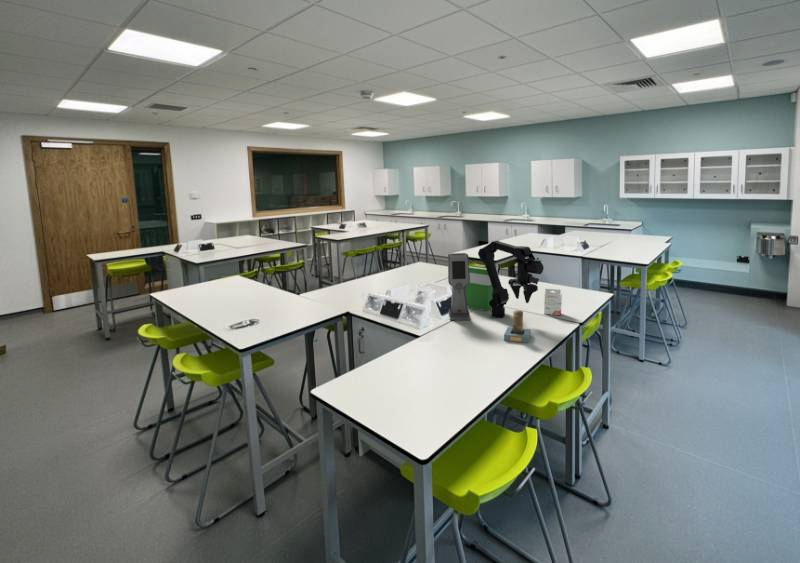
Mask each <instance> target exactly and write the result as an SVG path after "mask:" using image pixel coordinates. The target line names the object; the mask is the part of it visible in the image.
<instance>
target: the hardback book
mask: <svg viewBox="0 0 800 563" xmlns="http://www.w3.org/2000/svg"><path fill="white" fill-rule="evenodd" d="M469 273H470V283H469V284H468V285H467V286H466V299H467V306H468V308H471V307H472V308H471V309H476V310H482V311H485V310H486V311H487V312H489V311H492V310H491V309H492V306H490V305H489V302H490V301H491V300H492V299H493V297H492V292H493V287H492V284H491V281H490V278H489V275H488V272H487V269H486V266H481V265H475V264H474V265H472V264H469Z"/></svg>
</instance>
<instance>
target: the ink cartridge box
mask: <svg viewBox="0 0 800 563" xmlns="http://www.w3.org/2000/svg"><path fill="white" fill-rule="evenodd" d="M561 292H562V291H561V289H556V288H545V292H544V308H543V311H544V313H543V315H547V314H551V315H550V316H557V315H560V314H562V303H563V302H562V300H563V298H562V297H563V296H562V295H563V293H561ZM560 316H561V315H560Z"/></svg>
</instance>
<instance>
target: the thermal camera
mask: <svg viewBox="0 0 800 563" xmlns="http://www.w3.org/2000/svg"><path fill="white" fill-rule="evenodd" d="M469 265H470V261H469V254H468V253H467V252H463V253H462V252H460V253H449V254H447V271H448V272H447V273H448V274H447V278H448V282H447V283H448V284H449V285H450V286H451V306H450V307H449V309H448V318H449V317H450V319H451V320H450V319H449V320H450V321H469V320H471V314H470V310H469V307H467V299H466V286H467V285H468V284H469V283H470V273H469Z"/></svg>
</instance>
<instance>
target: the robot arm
mask: <svg viewBox="0 0 800 563" xmlns="http://www.w3.org/2000/svg"><path fill="white" fill-rule="evenodd" d="M497 251H501V252H504V253H507V254H511V255H512V256H513V257H514V258H515V259H514V260H513V262H514V263H517V264H516V270H517V271H516V272H515V276H516V277H515V278H510V279H509V280H508V281H507V283H508V285H509V287H510V288H511V291H512V293H513V294H514V297H515V298H516V299H517V300H519V297H520V290H521V288H522V289H523V290H522V292H523V298H524V300H525V303H526V304H529V302H530V300H531V297H532V295H533V294H534V293H535V292H537V291H539V286H538V283H539V281H540V278H538V277H534V276H533V274H535V275H536V274H537V275H541V274H542V273H543V271H544V269H545V268H544V264H543V263H542V260H541V259H537V260H536V257H535V255H534V254H533V252H532V250H531V247H530V246H524V245H522V246H521V245H518V246H517V245H514V244H509V243H506V242H503V241H500V240H493V241H491V242H490V243H488V244H487V245H485V246H484V247H481V248H479V250H478V252H477V254H478V257H479V259H480V261H481V262H482V264H484V267H486V269H487V272H488V275H489V278H490V281H491V284H492V287H493V292H492V297H493V299H492V300H491V301H490V302H489V305H490V306H492V310H491V315H490V317H491V318H499V319H500V318H501V319H503V318H504V316H506V307H505V305H507V302H509V300H510V297H509V296H510V293H509V291H508V289H507V288H504V287H503V286H502V282H501V279H500V276H499V274H498V271H497V268H496V264H495V253H497Z"/></svg>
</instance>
